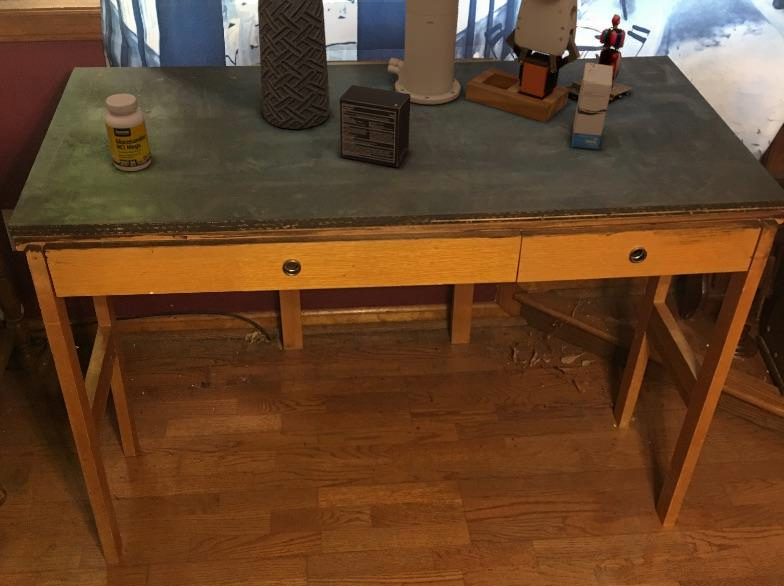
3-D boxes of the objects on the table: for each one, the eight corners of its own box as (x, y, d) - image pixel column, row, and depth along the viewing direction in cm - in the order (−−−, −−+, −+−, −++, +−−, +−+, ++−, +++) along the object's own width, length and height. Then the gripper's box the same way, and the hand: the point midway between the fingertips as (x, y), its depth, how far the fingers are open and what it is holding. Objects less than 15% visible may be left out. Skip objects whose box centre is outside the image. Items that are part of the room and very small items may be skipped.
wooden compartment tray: (545, 122, 157) (547, 106, 155) (465, 99, 163) (466, 83, 161) (566, 104, 162) (569, 88, 160) (488, 82, 169) (490, 67, 167)
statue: (589, 85, 172) (608, 5, 163) (629, 98, 167) (651, 17, 158) (558, 94, 165) (575, 11, 156) (599, 109, 160) (620, 24, 151)
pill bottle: (119, 175, 140) (105, 110, 132) (109, 159, 144) (95, 95, 136) (156, 167, 142) (145, 103, 134) (146, 151, 146) (134, 88, 138)
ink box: (599, 150, 149) (613, 84, 141) (570, 147, 150) (582, 81, 142) (600, 128, 155) (613, 64, 147) (572, 125, 156) (584, 61, 148)
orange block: (520, 91, 159) (524, 59, 155) (531, 83, 161) (535, 51, 157) (541, 97, 157) (546, 64, 153) (552, 89, 160) (557, 56, 156)
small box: (410, 151, 148) (412, 92, 140) (398, 169, 143) (400, 108, 136) (352, 141, 150) (352, 82, 143) (339, 157, 145) (338, 98, 138)
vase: (251, 122, 154) (235, -48, 135) (282, 96, 162) (271, -68, 143) (312, 135, 151) (305, -37, 132) (340, 108, 159) (337, -58, 140)
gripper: (606, -14, 145) (587, 91, 158) (517, -33, 152) (505, 69, 164) (588, -1, 141) (569, 106, 153) (497, -21, 147) (486, 83, 160)
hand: (536, 86), depth 159 cm, fingers closed on orange block, 4 cm apart
